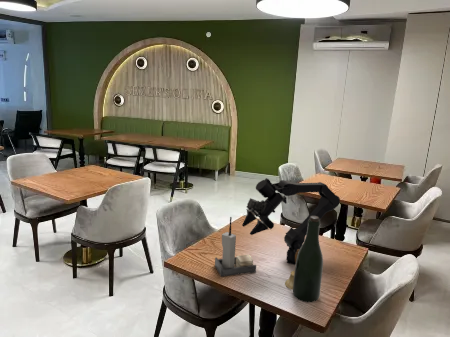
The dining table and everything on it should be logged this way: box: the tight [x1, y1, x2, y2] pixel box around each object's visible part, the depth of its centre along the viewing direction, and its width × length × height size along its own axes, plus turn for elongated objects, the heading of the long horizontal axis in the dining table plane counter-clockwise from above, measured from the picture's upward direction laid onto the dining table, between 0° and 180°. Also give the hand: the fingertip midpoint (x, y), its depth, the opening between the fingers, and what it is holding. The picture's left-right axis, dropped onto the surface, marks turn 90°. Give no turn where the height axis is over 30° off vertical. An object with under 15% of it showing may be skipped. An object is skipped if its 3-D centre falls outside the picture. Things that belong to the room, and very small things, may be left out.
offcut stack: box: [235, 254, 254, 267], centre depth 149 cm, size 6×6×5 cm
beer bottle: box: [292, 216, 324, 303], centre depth 127 cm, size 10×10×33 cm
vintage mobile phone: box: [221, 216, 237, 269], centre depth 145 cm, size 4×5×25 cm
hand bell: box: [284, 249, 300, 290], centre depth 136 cm, size 8×8×16 cm
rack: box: [214, 256, 257, 277], centre depth 148 cm, size 16×9×4 cm, turn 108°
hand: (246, 230), depth 146 cm, fingers open, 9 cm apart
